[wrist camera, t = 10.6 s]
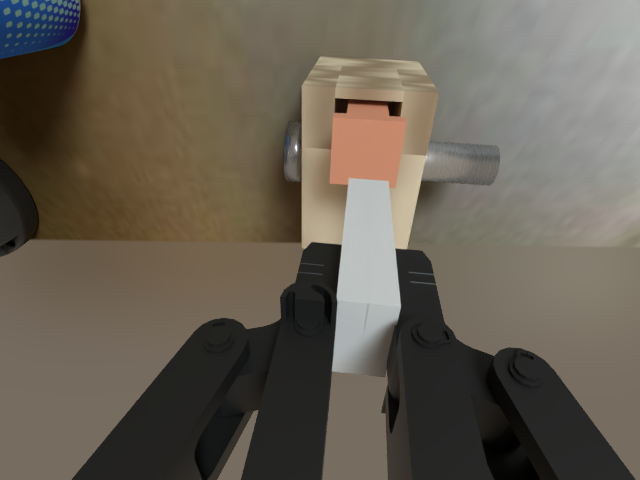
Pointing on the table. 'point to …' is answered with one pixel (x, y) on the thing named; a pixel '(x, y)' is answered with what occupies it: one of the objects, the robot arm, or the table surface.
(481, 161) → the pin
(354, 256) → the robot arm
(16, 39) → the beer can
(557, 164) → the table surface
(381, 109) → the plunger
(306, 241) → the block
